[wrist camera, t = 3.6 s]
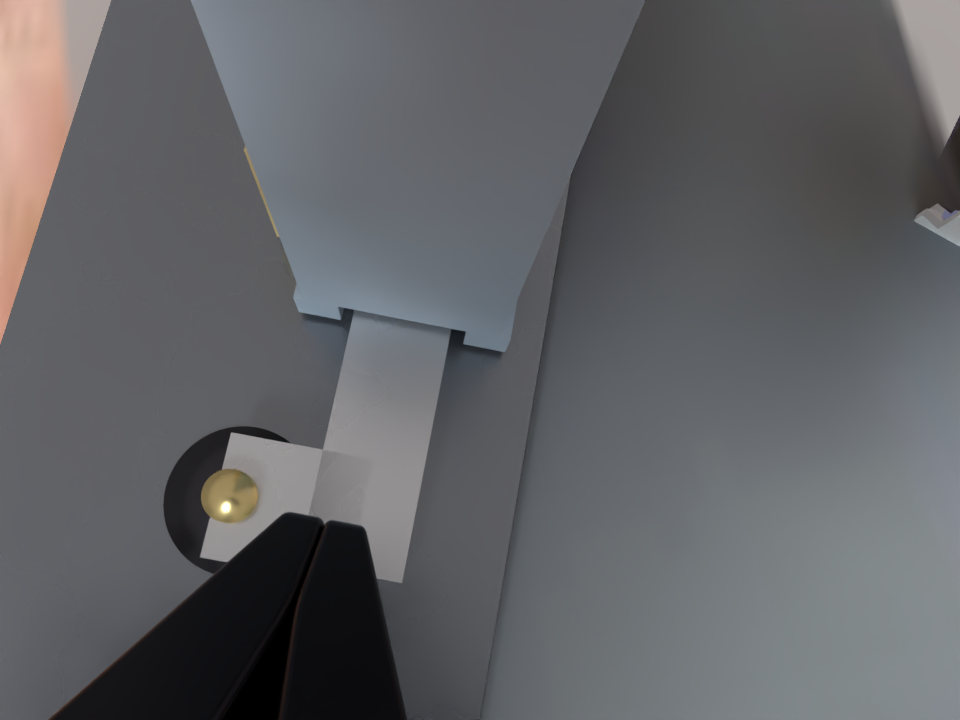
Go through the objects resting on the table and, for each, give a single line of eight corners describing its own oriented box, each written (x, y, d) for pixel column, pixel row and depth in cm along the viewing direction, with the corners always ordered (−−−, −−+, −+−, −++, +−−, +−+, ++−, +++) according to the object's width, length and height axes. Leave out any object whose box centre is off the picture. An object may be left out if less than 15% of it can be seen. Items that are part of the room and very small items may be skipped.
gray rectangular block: (504, 351, 19) (674, -6, 7) (260, 304, 18) (15, -148, 7) (535, 180, 20) (730, -387, 8) (303, 133, 19) (154, -522, 8)
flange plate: (452, 861, 17) (458, 897, 15) (-118, 763, 17) (-183, 788, 15) (611, -83, 22) (630, -142, 21) (181, -177, 22) (160, -245, 20)
